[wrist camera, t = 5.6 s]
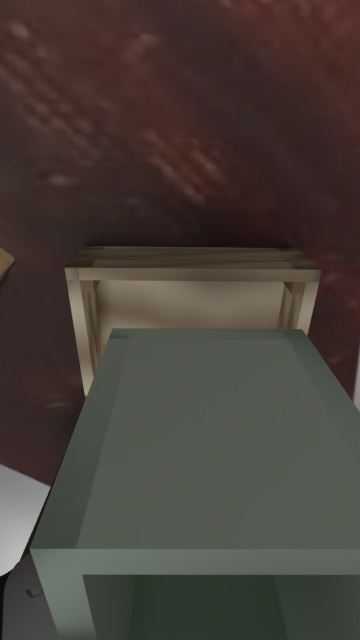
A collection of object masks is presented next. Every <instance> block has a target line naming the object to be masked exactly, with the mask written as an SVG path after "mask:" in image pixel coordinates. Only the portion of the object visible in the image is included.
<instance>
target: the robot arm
mask: <svg viewBox="0 0 360 640" xmlns="http://www.w3.org/2000/svg"><path fill="white" fill-rule="evenodd" d="M0 640H60V638H59V635H58V632H57V629H56V626H55V623H54V620H53V617H52V614H51V611H50V608H49V605H48V602H47V599H46V596H45V593H44V591H43V588H42V585H41V582H40V579H39V576H38V573H37V570H36V567H35V564H34V561H33V558H32V555H31V552H30V551H29V553H28V554H27V555H26V556H24V557H23V558H22V559H21V560H20V561H19V562H18V563H17V564H16V565H15V567H14V568H13V569H12V570H11V571H9V572H8V573H6V574H4V575H2V576H0Z"/></svg>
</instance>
